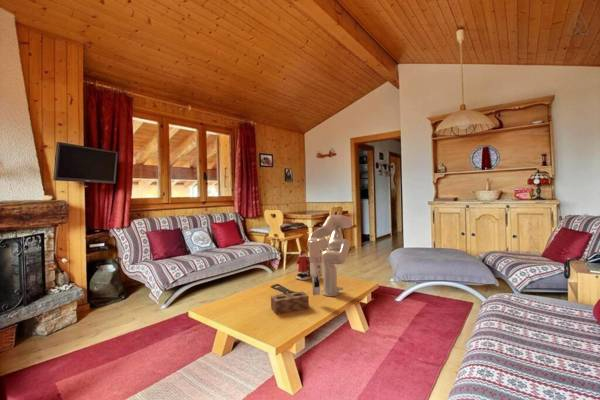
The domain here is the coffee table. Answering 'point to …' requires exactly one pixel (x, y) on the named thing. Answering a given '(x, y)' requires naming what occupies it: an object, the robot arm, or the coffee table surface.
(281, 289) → the zipper pull
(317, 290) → the pinkish wooden bar
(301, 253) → the santa figurine
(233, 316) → the coffee table surface
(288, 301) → the slotted wooden block
